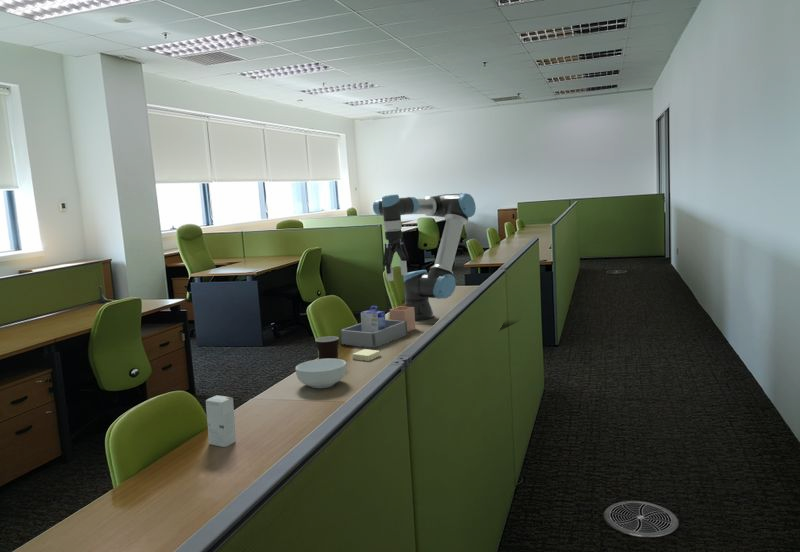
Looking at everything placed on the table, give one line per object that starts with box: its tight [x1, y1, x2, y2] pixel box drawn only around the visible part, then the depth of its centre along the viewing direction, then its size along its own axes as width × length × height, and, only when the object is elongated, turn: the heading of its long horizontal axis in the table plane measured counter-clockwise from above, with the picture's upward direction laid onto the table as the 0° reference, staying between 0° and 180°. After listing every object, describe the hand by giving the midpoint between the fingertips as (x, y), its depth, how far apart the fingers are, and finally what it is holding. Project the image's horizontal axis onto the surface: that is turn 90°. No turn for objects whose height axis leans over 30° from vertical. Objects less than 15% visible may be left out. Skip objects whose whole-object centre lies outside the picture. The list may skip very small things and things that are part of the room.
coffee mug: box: [314, 335, 340, 359], centre depth 232 cm, size 12×9×10 cm
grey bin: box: [339, 319, 408, 349], centre depth 267 cm, size 24×18×6 cm
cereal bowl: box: [295, 358, 348, 389], centre depth 207 cm, size 17×17×7 cm
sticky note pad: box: [351, 348, 381, 362], centre depth 238 cm, size 8×8×2 cm
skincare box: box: [205, 394, 237, 448], centre depth 162 cm, size 6×4×12 cm
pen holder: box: [389, 305, 417, 333], centre depth 281 cm, size 8×8×10 cm
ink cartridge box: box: [360, 305, 386, 333], centre depth 266 cm, size 10×6×14 cm, turn 53°
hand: (397, 277), depth 275 cm, fingers open, 13 cm apart
